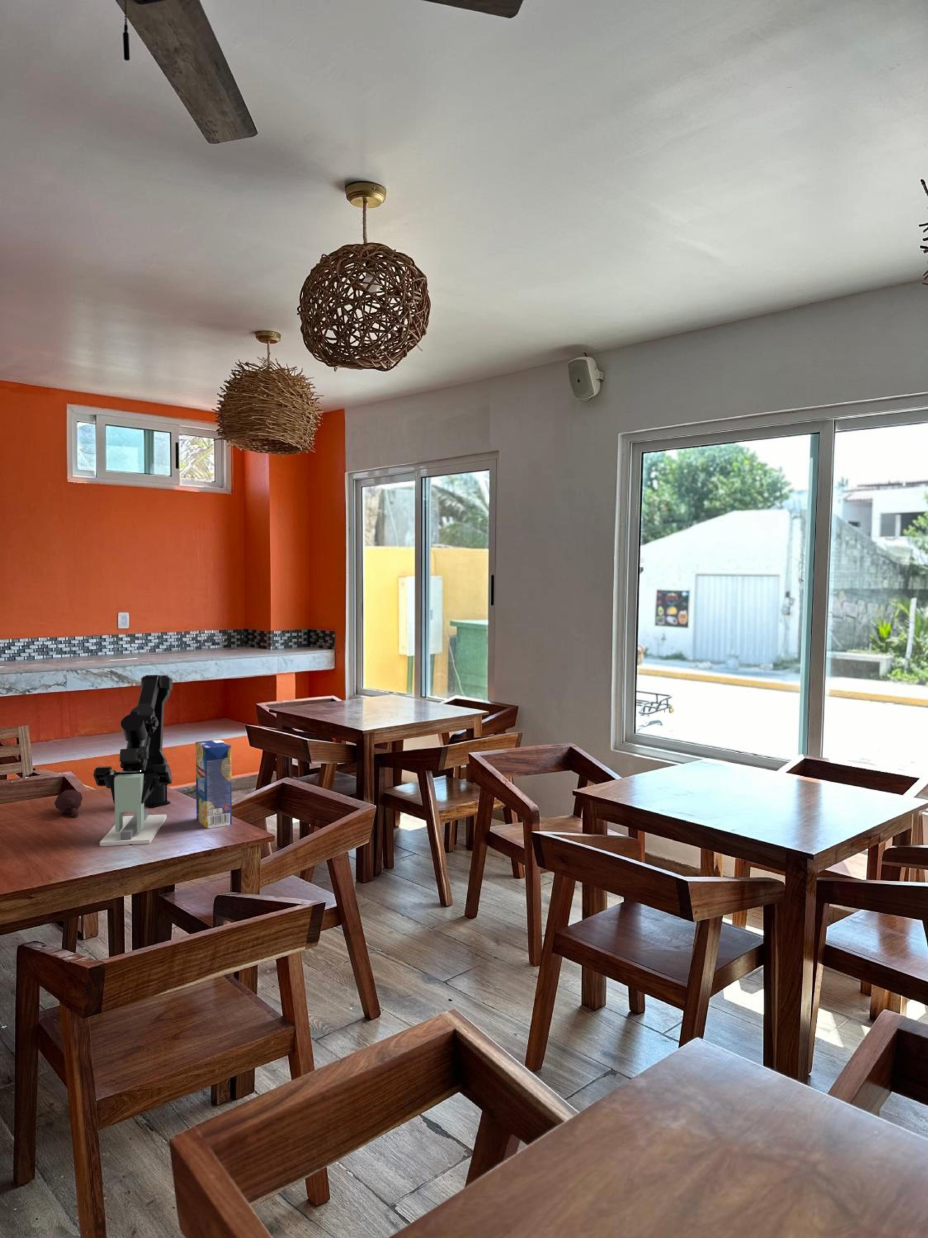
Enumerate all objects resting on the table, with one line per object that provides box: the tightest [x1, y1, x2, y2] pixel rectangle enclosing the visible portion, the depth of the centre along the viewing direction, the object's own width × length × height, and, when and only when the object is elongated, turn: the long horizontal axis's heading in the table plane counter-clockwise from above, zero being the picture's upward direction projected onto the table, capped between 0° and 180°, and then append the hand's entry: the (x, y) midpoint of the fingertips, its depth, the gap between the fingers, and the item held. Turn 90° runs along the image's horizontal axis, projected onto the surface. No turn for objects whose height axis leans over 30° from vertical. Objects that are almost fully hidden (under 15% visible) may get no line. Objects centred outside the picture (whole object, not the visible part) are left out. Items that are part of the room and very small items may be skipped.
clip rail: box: [99, 808, 167, 847], centre depth 221 cm, size 24×12×3 cm, turn 10°
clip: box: [114, 774, 145, 832], centre depth 215 cm, size 4×6×14 cm, turn 100°
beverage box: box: [195, 739, 233, 829], centre depth 230 cm, size 7×11×22 cm, turn 32°
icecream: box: [54, 789, 83, 818], centre depth 240 cm, size 7×7×15 cm
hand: (128, 803), depth 214 cm, fingers open, 6 cm apart
